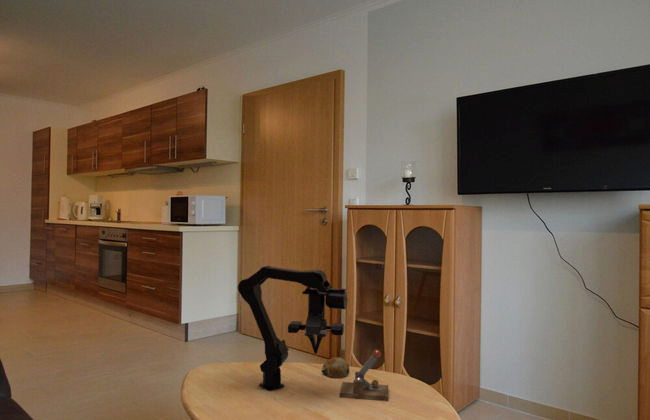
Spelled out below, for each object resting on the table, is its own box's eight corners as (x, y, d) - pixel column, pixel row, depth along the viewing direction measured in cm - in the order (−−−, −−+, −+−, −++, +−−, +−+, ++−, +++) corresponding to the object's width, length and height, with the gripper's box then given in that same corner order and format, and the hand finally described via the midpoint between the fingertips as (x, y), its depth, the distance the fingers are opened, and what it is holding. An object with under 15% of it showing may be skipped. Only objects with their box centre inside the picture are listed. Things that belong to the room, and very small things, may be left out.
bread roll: (341, 389, 168) (351, 370, 167) (317, 375, 170) (326, 356, 169) (345, 379, 178) (355, 361, 177) (322, 366, 179) (331, 348, 179)
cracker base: (339, 397, 151) (339, 380, 151) (342, 386, 161) (342, 370, 161) (388, 401, 149) (388, 384, 149) (388, 389, 159) (388, 373, 159)
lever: (351, 381, 153) (375, 350, 152) (352, 375, 159) (376, 345, 158) (365, 393, 152) (390, 362, 151) (366, 386, 158) (390, 356, 157)
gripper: (284, 311, 149) (283, 359, 149) (341, 313, 147) (340, 362, 146) (291, 304, 160) (290, 349, 160) (344, 306, 158) (343, 352, 158)
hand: (315, 353), depth 156 cm, fingers closed
